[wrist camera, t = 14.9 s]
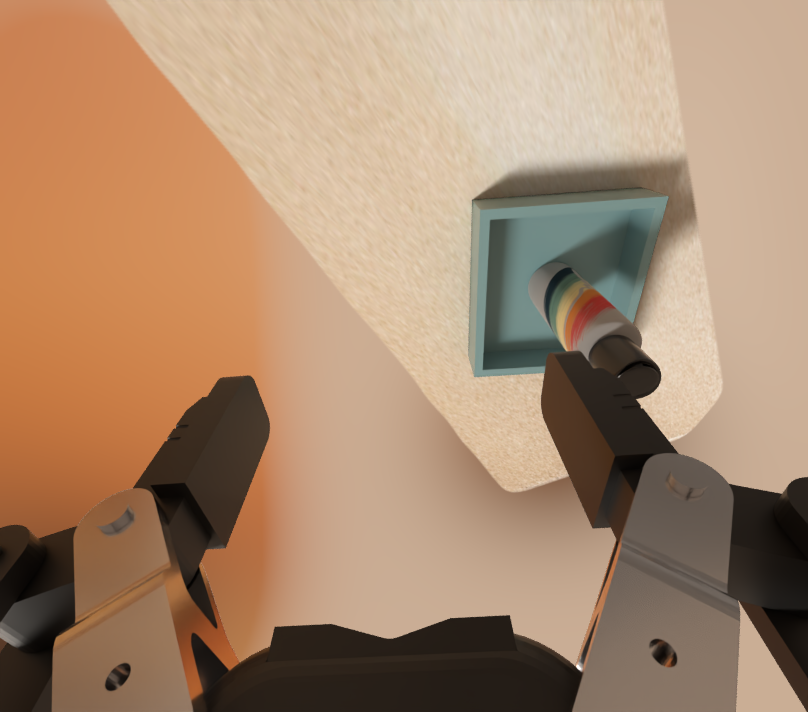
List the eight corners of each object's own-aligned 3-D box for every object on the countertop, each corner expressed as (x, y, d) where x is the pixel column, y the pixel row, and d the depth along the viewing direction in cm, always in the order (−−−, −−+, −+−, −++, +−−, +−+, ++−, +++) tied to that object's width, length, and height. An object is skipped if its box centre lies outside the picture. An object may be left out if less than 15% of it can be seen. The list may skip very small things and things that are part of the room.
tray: (472, 199, 42) (480, 210, 38) (641, 187, 41) (668, 196, 37) (468, 355, 53) (474, 377, 48) (602, 347, 52) (620, 368, 48)
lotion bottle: (585, 272, 45) (695, 368, 28) (556, 312, 48) (641, 422, 31) (544, 253, 44) (634, 341, 27) (517, 295, 47) (583, 400, 30)
